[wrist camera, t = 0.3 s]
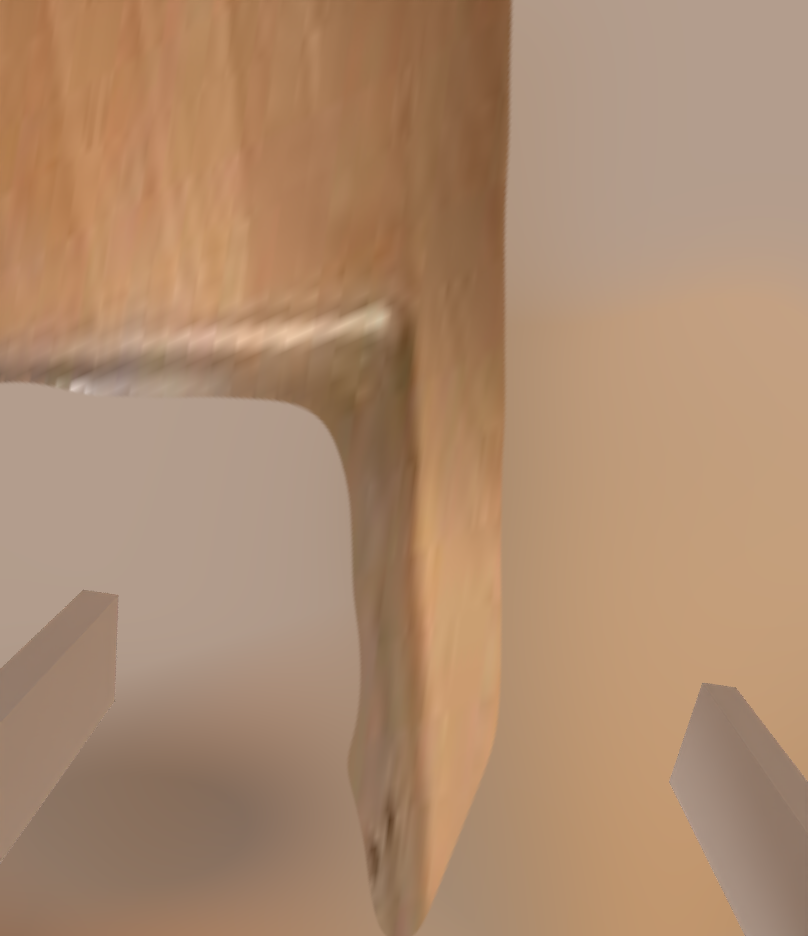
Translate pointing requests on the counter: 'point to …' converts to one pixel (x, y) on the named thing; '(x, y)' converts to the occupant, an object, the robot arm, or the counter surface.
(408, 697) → the counter surface
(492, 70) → the counter surface
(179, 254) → the counter surface
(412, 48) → the counter surface
